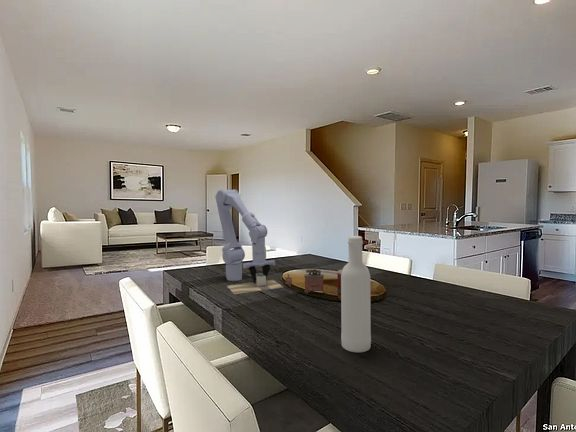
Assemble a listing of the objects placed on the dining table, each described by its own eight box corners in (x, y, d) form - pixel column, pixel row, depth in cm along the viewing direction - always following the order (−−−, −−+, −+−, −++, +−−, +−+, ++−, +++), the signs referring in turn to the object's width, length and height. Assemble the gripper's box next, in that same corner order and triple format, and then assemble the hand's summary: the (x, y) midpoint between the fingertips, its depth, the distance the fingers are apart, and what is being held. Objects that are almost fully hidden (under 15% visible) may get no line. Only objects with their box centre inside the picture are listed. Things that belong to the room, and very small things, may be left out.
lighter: (323, 291, 141) (323, 268, 140) (323, 293, 137) (323, 270, 136) (304, 291, 141) (304, 268, 141) (304, 293, 138) (304, 269, 137)
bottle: (376, 345, 91) (376, 236, 89) (361, 356, 85) (361, 239, 83) (350, 337, 96) (350, 234, 94) (335, 346, 90) (334, 237, 88)
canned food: (334, 300, 129) (334, 272, 128) (341, 294, 136) (341, 268, 135) (354, 303, 125) (354, 274, 124) (360, 297, 132) (359, 269, 131)
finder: (253, 282, 151) (253, 273, 151) (261, 281, 153) (261, 272, 152) (257, 286, 146) (257, 276, 145) (266, 285, 147) (265, 275, 147)
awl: (284, 285, 150) (284, 273, 150) (290, 284, 151) (290, 272, 151) (286, 287, 147) (286, 274, 147) (293, 286, 149) (292, 274, 148)
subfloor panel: (226, 288, 148) (226, 285, 148) (272, 282, 157) (272, 279, 156) (234, 297, 135) (234, 294, 135) (284, 289, 144) (284, 287, 144)
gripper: (245, 255, 142) (246, 286, 143) (277, 252, 147) (277, 282, 148) (241, 252, 148) (242, 282, 149) (271, 250, 154) (272, 278, 155)
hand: (259, 282), depth 149 cm, fingers closed on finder, 4 cm apart
